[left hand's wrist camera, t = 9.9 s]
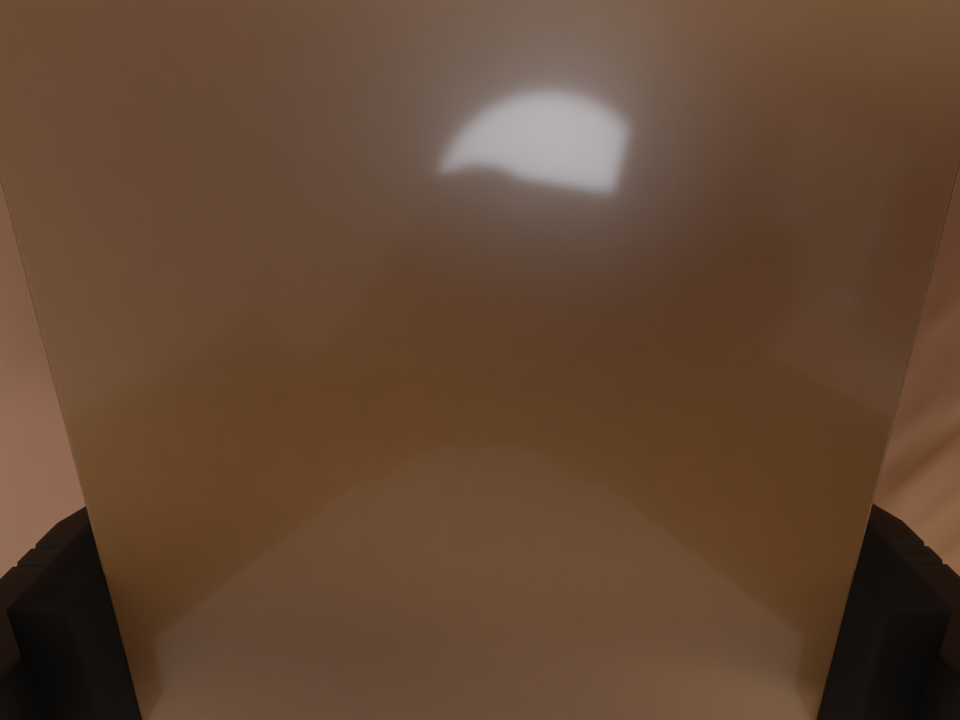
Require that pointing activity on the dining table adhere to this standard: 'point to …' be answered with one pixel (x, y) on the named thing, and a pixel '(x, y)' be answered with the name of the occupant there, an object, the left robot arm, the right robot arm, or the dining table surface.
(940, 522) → the dining table surface
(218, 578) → the slab
